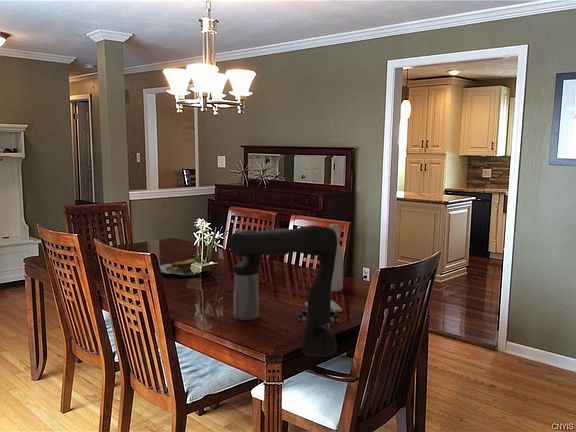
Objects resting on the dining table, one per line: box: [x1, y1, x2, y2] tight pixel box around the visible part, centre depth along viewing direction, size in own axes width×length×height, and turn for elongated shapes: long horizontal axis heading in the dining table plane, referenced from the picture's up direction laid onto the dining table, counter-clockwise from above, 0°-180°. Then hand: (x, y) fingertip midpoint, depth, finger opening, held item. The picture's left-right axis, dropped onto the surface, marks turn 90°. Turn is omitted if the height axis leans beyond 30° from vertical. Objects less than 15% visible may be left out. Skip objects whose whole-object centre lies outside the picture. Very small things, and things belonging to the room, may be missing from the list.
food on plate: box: [159, 258, 199, 276], centre depth 268 cm, size 25×25×7 cm
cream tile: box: [304, 299, 343, 313], centre depth 212 cm, size 12×12×1 cm
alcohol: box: [329, 223, 345, 293], centre depth 237 cm, size 9×9×30 cm
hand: (317, 309), depth 191 cm, fingers open, 8 cm apart
